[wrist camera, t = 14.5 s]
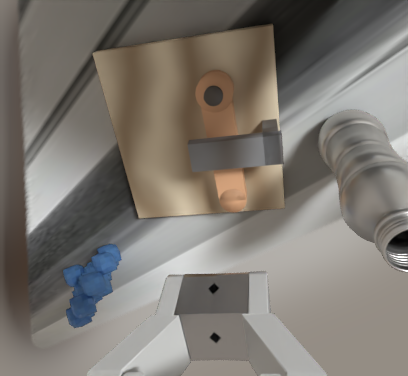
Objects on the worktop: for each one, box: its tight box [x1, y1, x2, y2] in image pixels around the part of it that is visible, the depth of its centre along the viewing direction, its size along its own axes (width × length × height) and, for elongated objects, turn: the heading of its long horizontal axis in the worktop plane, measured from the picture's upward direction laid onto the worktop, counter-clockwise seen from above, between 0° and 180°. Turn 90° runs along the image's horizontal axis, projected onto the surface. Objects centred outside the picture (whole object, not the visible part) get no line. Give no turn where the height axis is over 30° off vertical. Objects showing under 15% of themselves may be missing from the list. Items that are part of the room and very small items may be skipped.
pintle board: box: [92, 24, 285, 218], centre depth 39 cm, size 18×20×6 cm
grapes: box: [63, 244, 121, 328], centre depth 47 cm, size 12×7×12 cm, turn 154°
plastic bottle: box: [318, 110, 408, 272], centre depth 32 cm, size 6×7×20 cm
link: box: [195, 70, 247, 212], centre depth 39 cm, size 15×4×2 cm, turn 11°
